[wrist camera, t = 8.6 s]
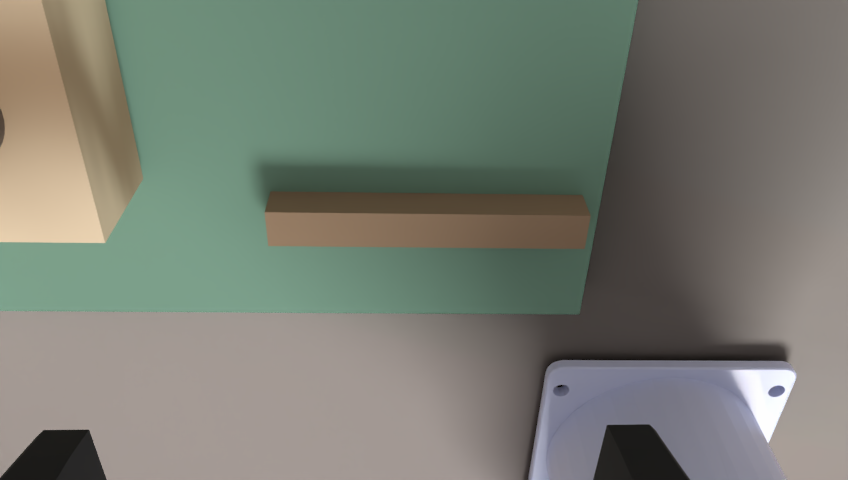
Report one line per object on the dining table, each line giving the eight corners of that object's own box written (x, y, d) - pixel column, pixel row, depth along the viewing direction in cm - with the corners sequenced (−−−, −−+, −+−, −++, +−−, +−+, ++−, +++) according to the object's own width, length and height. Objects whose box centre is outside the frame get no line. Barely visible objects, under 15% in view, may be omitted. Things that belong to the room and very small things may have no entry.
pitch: (573, 293, 22) (586, 337, 20) (-216, 287, 21) (-268, 333, 20) (685, -343, 14) (724, -354, 12) (-609, -389, 13) (-757, -407, 11)
